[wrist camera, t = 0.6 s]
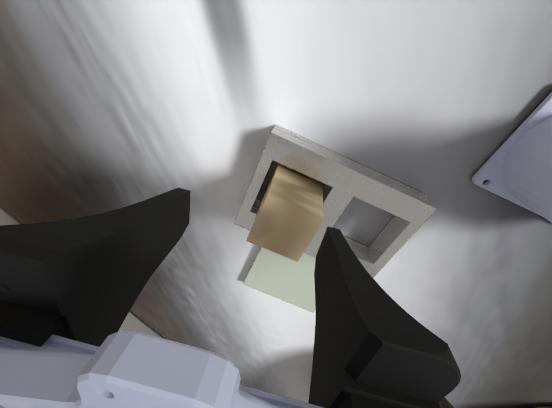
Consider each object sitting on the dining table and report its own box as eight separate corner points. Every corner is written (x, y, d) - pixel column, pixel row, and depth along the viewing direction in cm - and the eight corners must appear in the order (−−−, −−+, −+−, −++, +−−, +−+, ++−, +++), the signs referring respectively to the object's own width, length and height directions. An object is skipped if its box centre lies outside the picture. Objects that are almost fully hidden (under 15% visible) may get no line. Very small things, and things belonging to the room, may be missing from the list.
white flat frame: (424, 193, 22) (436, 208, 19) (365, 262, 26) (370, 281, 24) (275, 124, 20) (270, 132, 18) (241, 209, 25) (233, 223, 23)
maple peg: (321, 177, 22) (324, 221, 16) (302, 211, 24) (297, 262, 18) (280, 158, 22) (266, 196, 16) (263, 195, 24) (246, 240, 18)
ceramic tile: (347, 263, 27) (348, 269, 26) (313, 306, 31) (313, 312, 30) (269, 230, 26) (268, 235, 25) (244, 279, 30) (242, 284, 29)
